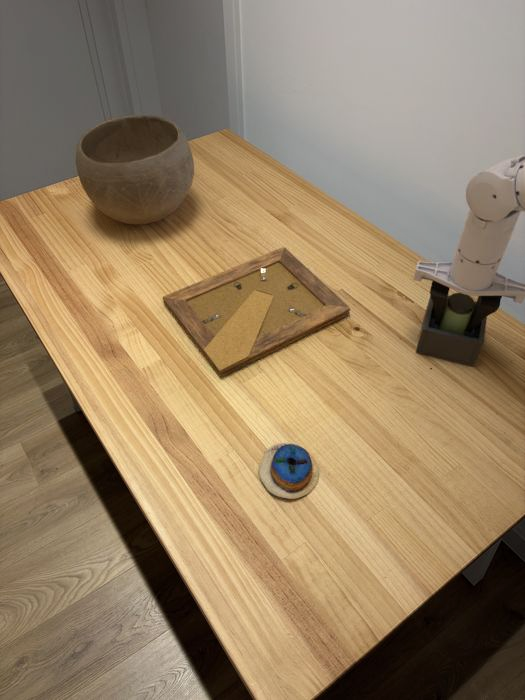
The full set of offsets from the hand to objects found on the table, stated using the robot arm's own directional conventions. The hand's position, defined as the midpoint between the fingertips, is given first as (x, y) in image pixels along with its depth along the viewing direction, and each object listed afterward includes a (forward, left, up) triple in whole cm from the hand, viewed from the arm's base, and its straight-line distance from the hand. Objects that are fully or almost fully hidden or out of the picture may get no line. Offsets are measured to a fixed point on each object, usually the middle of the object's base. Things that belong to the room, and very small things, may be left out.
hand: (453, 324), depth 82 cm
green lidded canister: (0, 0, -1) cm, 1 cm away
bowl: (+60, -15, -4) cm, 62 cm away
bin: (0, 0, -3) cm, 3 cm away
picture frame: (+30, +4, -4) cm, 30 cm away
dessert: (+16, +30, -4) cm, 34 cm away
